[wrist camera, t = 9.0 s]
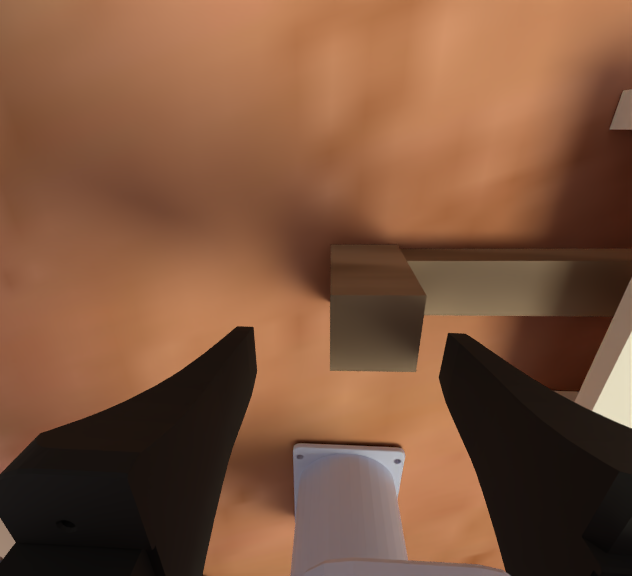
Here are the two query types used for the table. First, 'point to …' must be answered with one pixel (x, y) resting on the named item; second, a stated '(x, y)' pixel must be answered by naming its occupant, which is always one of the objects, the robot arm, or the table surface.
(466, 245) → the table surface
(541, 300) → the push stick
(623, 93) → the plinth shelf
